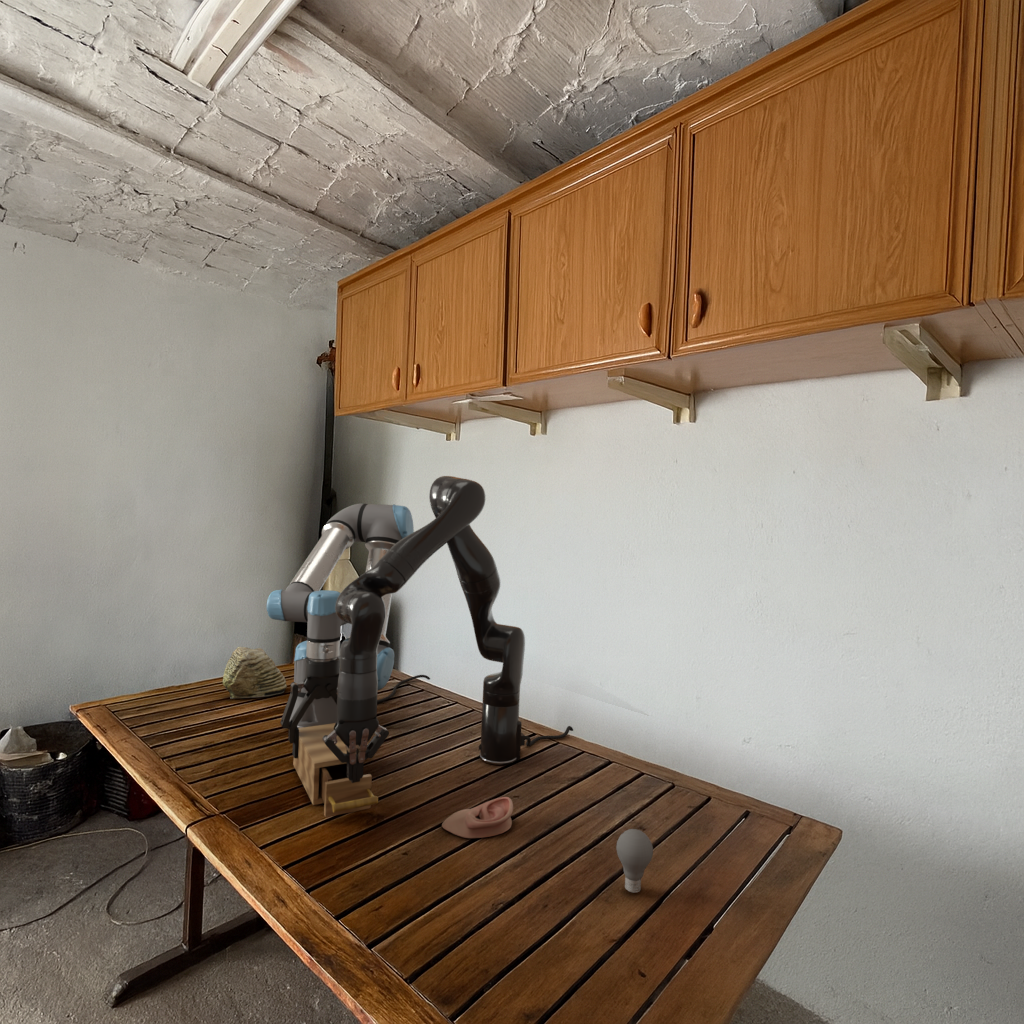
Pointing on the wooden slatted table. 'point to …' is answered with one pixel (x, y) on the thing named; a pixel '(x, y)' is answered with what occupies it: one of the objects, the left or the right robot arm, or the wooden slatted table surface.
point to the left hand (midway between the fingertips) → (319, 752)
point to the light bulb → (634, 857)
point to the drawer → (344, 791)
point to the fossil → (252, 674)
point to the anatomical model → (481, 819)
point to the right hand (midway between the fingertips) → (354, 780)
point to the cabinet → (315, 757)
